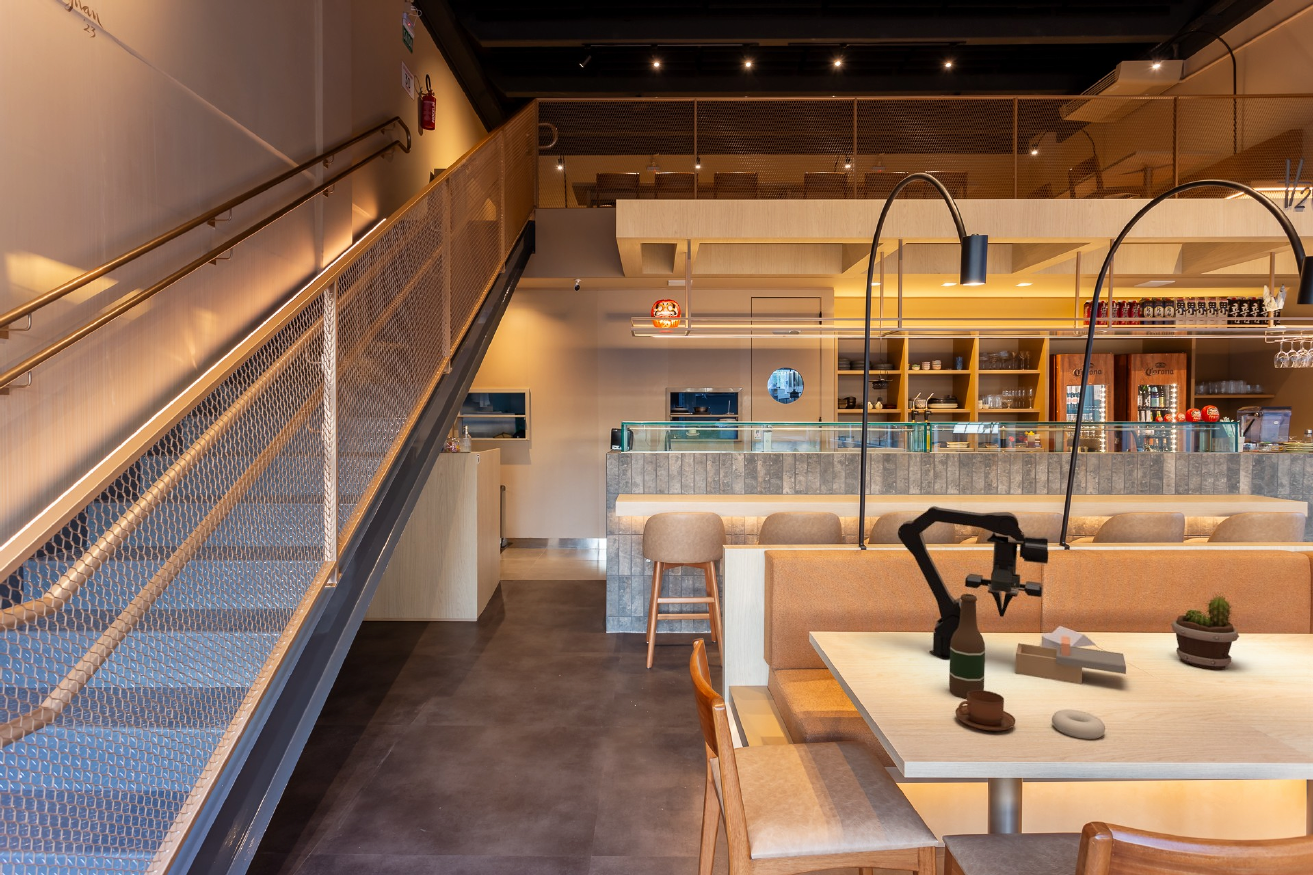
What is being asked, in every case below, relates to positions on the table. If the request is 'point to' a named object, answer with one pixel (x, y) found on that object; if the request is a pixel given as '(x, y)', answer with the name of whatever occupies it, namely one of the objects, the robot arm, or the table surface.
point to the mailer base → (1044, 664)
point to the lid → (1089, 658)
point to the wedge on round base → (1055, 637)
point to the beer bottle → (967, 652)
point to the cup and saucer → (985, 711)
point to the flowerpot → (1206, 635)
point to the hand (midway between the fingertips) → (1001, 616)
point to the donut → (1078, 724)
